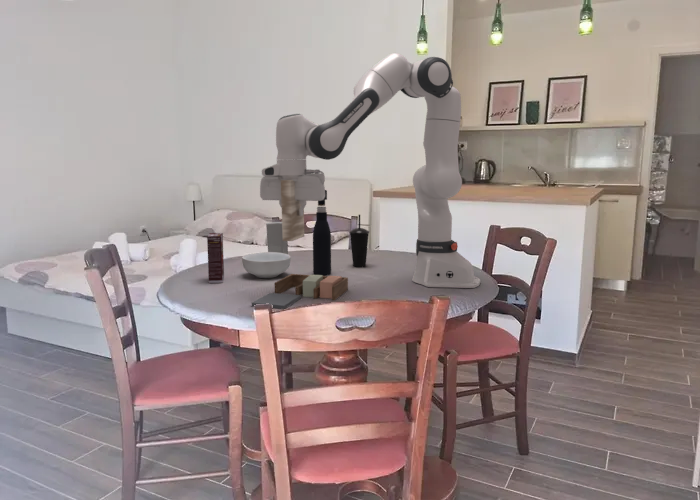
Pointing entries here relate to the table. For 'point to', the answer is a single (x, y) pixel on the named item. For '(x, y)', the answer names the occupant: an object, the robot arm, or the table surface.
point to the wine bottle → (321, 242)
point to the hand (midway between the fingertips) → (293, 215)
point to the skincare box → (276, 238)
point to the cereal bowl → (266, 264)
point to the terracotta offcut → (328, 286)
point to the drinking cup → (359, 246)
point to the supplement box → (215, 257)
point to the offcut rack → (297, 282)
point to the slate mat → (278, 300)
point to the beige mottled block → (291, 212)
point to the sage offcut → (311, 284)
